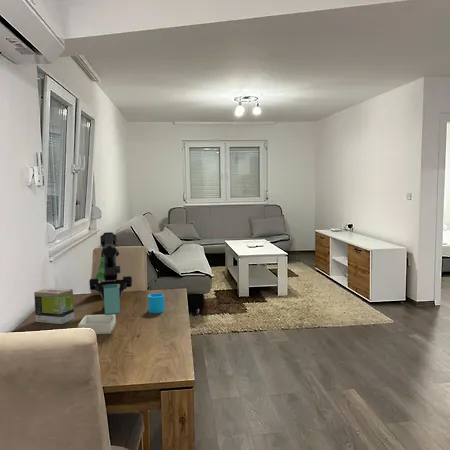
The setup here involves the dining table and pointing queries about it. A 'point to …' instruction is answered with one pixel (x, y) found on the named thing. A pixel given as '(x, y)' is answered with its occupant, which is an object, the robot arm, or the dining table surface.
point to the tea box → (54, 305)
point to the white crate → (99, 323)
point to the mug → (156, 303)
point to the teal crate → (111, 299)
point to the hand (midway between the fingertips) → (111, 298)
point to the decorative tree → (101, 271)
